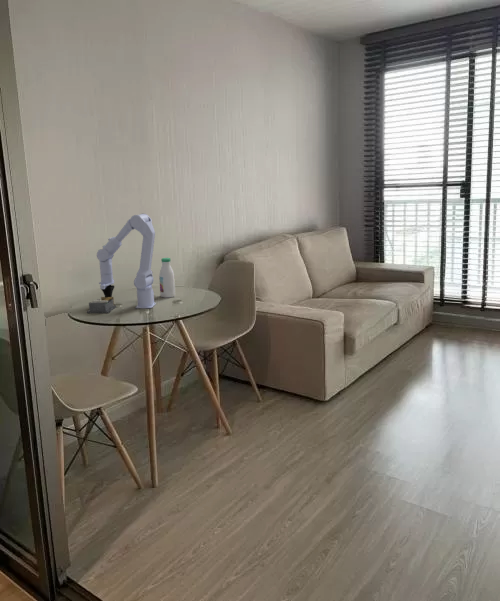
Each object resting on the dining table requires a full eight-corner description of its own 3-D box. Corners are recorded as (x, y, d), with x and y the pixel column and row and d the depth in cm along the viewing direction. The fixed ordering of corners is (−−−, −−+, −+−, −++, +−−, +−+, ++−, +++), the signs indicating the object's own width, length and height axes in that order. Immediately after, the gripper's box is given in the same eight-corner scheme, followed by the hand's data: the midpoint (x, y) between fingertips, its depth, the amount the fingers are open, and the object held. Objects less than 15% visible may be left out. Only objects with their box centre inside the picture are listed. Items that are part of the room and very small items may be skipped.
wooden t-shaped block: (102, 304, 264) (101, 296, 264) (114, 304, 264) (113, 296, 263) (95, 309, 255) (94, 301, 254) (107, 309, 255) (107, 301, 254)
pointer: (93, 307, 255) (93, 300, 254) (108, 307, 255) (108, 300, 254) (92, 308, 253) (91, 301, 252) (107, 308, 253) (106, 301, 252)
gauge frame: (95, 307, 262) (95, 297, 260) (116, 307, 261) (115, 297, 260) (87, 313, 250) (86, 302, 249) (108, 313, 250) (107, 302, 248)
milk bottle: (176, 294, 285) (175, 257, 281) (173, 298, 278) (171, 259, 273) (162, 294, 286) (160, 257, 281) (158, 297, 279) (156, 259, 274)
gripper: (103, 270, 269) (105, 297, 272) (93, 276, 255) (95, 304, 258) (117, 270, 269) (119, 297, 272) (107, 276, 255) (109, 304, 258)
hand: (108, 300), depth 265 cm, fingers closed
